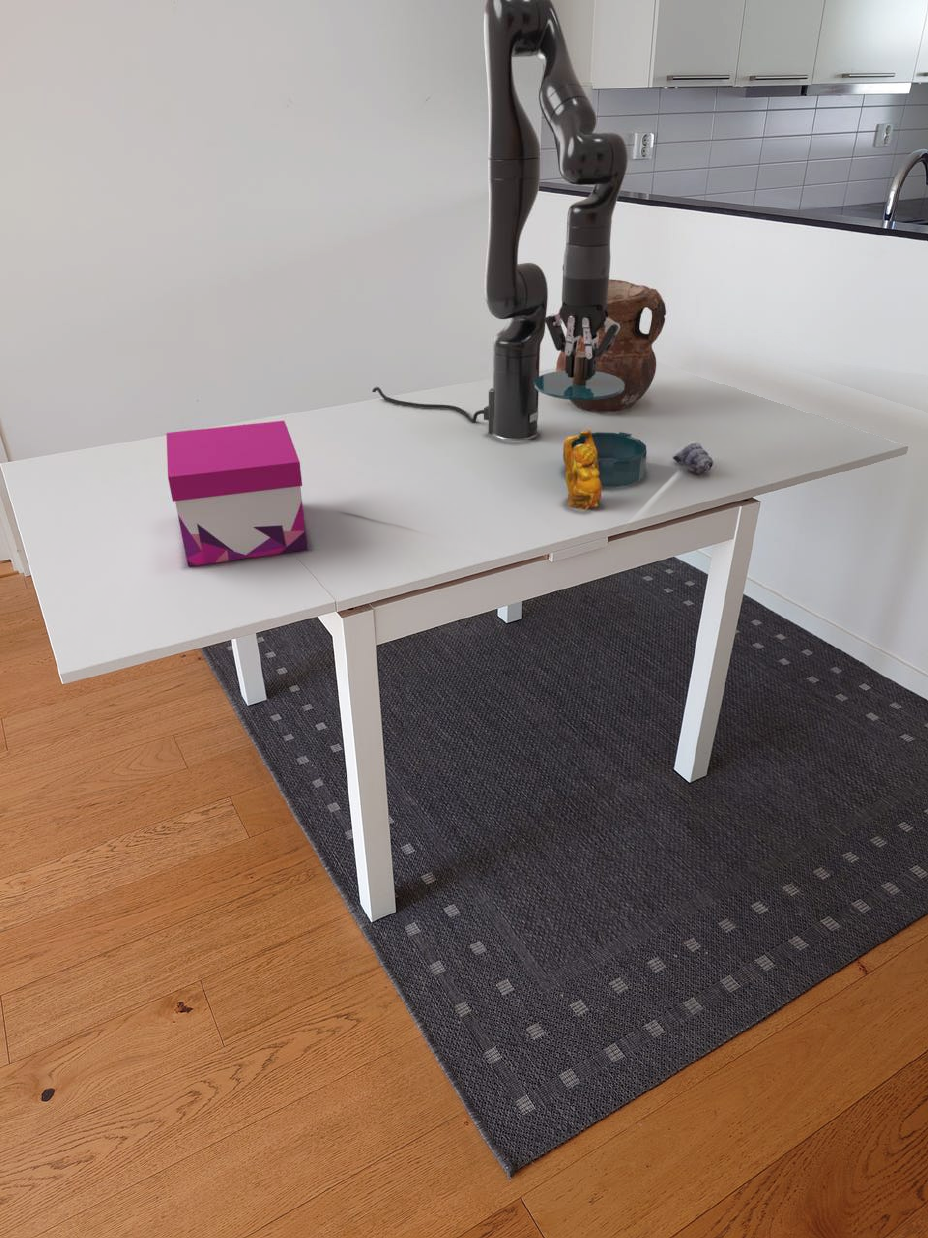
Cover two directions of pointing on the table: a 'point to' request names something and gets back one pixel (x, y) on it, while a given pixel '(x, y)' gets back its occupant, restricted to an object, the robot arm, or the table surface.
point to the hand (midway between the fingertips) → (579, 377)
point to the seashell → (694, 458)
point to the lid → (579, 383)
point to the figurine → (582, 472)
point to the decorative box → (236, 492)
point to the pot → (618, 458)
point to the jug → (626, 345)
